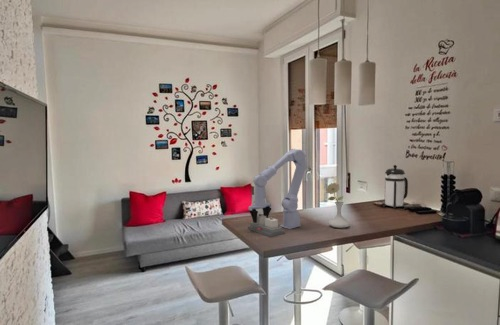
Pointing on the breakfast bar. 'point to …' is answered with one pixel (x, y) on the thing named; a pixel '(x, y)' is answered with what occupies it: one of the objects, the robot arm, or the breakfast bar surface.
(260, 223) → the plug
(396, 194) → the coffee press
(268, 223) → the grey compartment holder
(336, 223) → the flower in vase
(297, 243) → the breakfast bar surface
